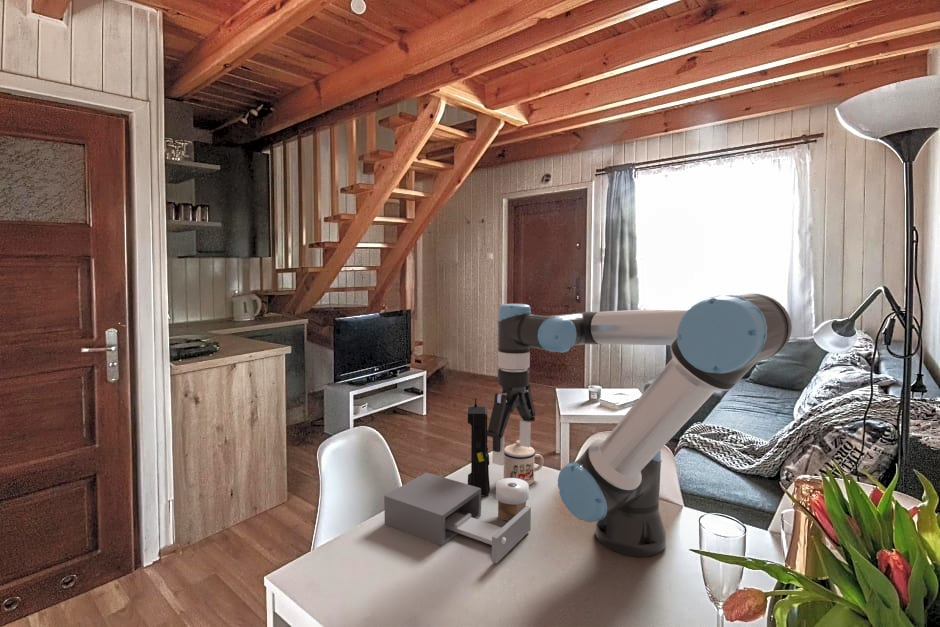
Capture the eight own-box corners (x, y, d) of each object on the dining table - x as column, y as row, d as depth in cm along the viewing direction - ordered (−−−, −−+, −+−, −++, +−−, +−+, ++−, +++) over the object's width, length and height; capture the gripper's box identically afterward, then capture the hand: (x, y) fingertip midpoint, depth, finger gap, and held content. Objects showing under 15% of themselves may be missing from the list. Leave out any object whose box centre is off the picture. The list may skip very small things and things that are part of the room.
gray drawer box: (480, 515, 123) (481, 488, 123) (442, 546, 110) (442, 515, 109) (426, 497, 133) (426, 472, 132) (384, 524, 119) (384, 495, 118)
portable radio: (490, 498, 133) (490, 405, 130) (467, 497, 133) (467, 405, 130) (489, 484, 140) (490, 397, 138) (468, 484, 141) (468, 397, 138)
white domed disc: (534, 494, 124) (534, 482, 124) (519, 507, 117) (519, 495, 117) (505, 486, 128) (505, 475, 128) (489, 498, 121) (489, 486, 121)
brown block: (525, 514, 124) (526, 495, 123) (516, 523, 120) (516, 503, 119) (507, 509, 127) (508, 490, 126) (498, 517, 122) (498, 497, 122)
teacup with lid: (508, 489, 138) (509, 448, 137) (498, 475, 146) (499, 437, 145) (549, 484, 141) (550, 444, 140) (536, 471, 150) (537, 433, 148)
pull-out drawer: (532, 530, 115) (532, 508, 115) (498, 564, 102) (499, 539, 102) (466, 509, 125) (466, 488, 125) (428, 537, 112) (428, 514, 112)
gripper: (523, 358, 132) (521, 436, 134) (472, 376, 111) (471, 468, 113) (549, 361, 128) (547, 442, 130) (501, 381, 107) (500, 476, 109)
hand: (512, 454), depth 122 cm, fingers open, 13 cm apart
